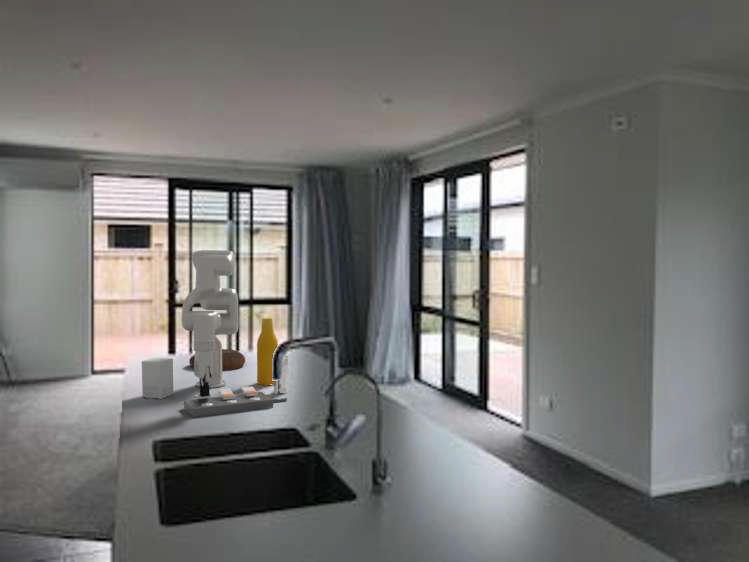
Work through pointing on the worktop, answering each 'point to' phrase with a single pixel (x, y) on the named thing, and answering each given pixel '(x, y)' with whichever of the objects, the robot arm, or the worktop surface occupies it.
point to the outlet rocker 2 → (249, 391)
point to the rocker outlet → (202, 397)
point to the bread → (227, 359)
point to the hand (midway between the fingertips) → (204, 395)
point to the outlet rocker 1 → (226, 394)
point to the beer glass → (282, 378)
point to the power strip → (228, 404)
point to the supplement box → (157, 378)
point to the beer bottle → (266, 352)
